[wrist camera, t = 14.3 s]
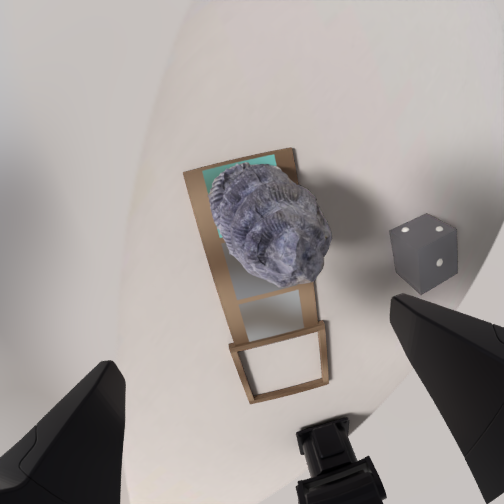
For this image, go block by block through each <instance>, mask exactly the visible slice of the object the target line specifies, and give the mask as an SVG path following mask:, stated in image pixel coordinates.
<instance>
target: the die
mask: <svg viewBox="0 0 504 504" xmlns="http://www.w3.org/2000/svg"><path fill="white" fill-rule="evenodd" d="M389 233H390V238H391V244H392V250H393V256H394V263H395V270H396V273H397V274H399V275H400V276H401V277H402V278H403V279H404V280H405V281H406V282H407V283H408V284H410V285H411V286H412V287H413V288H414V289H415V290H416V291H417V292H418V293H419V294H420V295H422V294H423V293H425V292H427V291H429V290H430V289H432V288H434V287H436V286H437V285H439V284H441V283H442V282H444V281H446V280H447V279H449V278H451V277H452V276H454V275H455V274H457V273H458V251H457V229H456V228H454V227H452V226H450V225H448V224H446V223H445V222H443V221H441V220H439V219H437V218H435V217H433V216H431V215H429V214H427V213H426V214H424V215H422V216H420V217H417V218H415V219H413V220H411V221H409V222H407V223H405V224H403V225H400V226H398V227H396V228H394V229H392V230H390V231H389Z"/></svg>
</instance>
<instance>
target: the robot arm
mask: <svg viewBox="0 0 504 504" xmlns="http://www.w3.org/2000/svg"><path fill="white" fill-rule="evenodd" d="M390 323H391V325H392V327H393V329H394V331H395V333H396V335H397V337H398V339H399V341H400V343H401V345H402V347H403V349H404V351H405V354H406V356H407V358H408V359H409V361H410V363H411V365H412V366H413V368H414V369H415V371H416V373H417V374H418V376H419V378H420V379H421V381H422V383H423V384H424V386H425V387H426V389H427V391H428V392H429V394H430V396H431V397H432V399H433V401H434V403H435V404H436V406H437V408H438V410H439V411H440V413H441V415H442V417H443V418H444V420H445V422H446V424H447V426H448V427H449V429H450V431H451V433H452V435H453V436H454V438H455V440H456V442H457V444H458V446H459V448H460V450H461V452H462V454H463V456H464V457H465V460H466V462H467V464H468V466H469V468H470V470H471V472H472V474H473V476H474V478H475V480H476V483H477V484H478V487H479V489H480V491H481V493H482V495H483V498H484V500H485V502H486V504H488V503H490V502H491V501H493V500H494V499H496V498H497V497H498V496H500V495H501V494H502V493H504V327H501V326H498V325H495V324H493V325H492V324H491V323H489V322H486V321H483V320H480V319H478V318H475V317H472V316H469V315H466V314H463V313H460V312H457V311H454V310H451V309H448V308H446V307H443V306H440V305H437V304H434V303H431V302H428V301H425V300H422V299H419V298H416V297H413V296H410V295H407V294H404V293H402V294H399V295H396V296H393V297H392V299H391V306H390ZM125 391H126V383H125V379H124V377H123V375H122V374H121V372H120V370H119V369H118V367H117V366H116V364H115V363H114V362H113V361H111V360H108V361H102V362H100V363H99V364H98V365H97V366H96V367H95V368H94V369H93V370H92V371H91V372H89V373H88V375H86V376H85V377H84V378H83V379H82V380H81V381H80V382H79V383H78V384H77V385H76V386H75V387H74V388H73V389H72V390H71V391H70V392H69V393H68V394H67V395H66V396H65V397H64V398H63V399H62V400H61V401H59V403H57V404H56V405H55V407H53V408H52V409H51V410H50V412H48V414H46V415H45V416H44V417H43V418H42V419H41V420H40V421H39V422H38V423H37V425H35V426H34V427H33V428H32V429H31V430H30V431H29V432H28V433H27V434H26V435H25V436H24V437H23V438H22V439H21V440H20V441H19V442H17V443H16V444H15V445H14V446H13V447H12V448H11V449H9V450H8V451H7V452H6V453H5V454H4V455H3V456H1V457H0V504H120V491H121V490H120V489H121V468H122V453H123V441H124V430H125ZM348 430H349V419H348V418H347V417H345V418H342V419H339V420H336V421H333V422H330V423H326V424H323V425H320V426H316V427H313V428H309V429H306V430H302V431H299V432H297V433H296V436H297V441H298V445H299V450H300V454H301V455H305V458H306V462H307V465H308V469H309V472H310V476H311V478H309V479H306V480H301V481H298V485H297V486H296V490H297V495H298V504H383V502H382V500H384V499H386V498H387V497H386V492H385V489H384V487H383V484H382V482H381V479H380V477H379V475H378V473H377V471H376V469H375V467H374V465H373V463H372V461H371V459H370V457H369V456H367V457H365V458H364V459H361V460H359V461H357V458H356V456H355V453H354V451H353V448H352V446H351V443H350V441H349V438H348Z"/></svg>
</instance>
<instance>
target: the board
mask: <svg viewBox="0 0 504 504" xmlns="http://www.w3.org/2000/svg"><path fill="white" fill-rule="evenodd" d="M245 162H248V163H249V164H250V165H255V164H270V165H272V166H277V167H279V168H280V169H281V171H282V172H284V173H285V174H287V175H288V178H289V179H290V180H292V181H293V182H294V183H296V185H299V184H298V178H297V173H296V167H295V162H294V156H293V151H292V148H285V149H280V150H275V151H270V152H265V153H260V154H256V155H251V156H246V157H242V158H238V159H233V160H229V161H225V162H221V163H217V164H213V165H209V166H205V167H201V168H197V169H193V170H190V171H186V172H183V175H184V179H185V183H186V186H187V190H188V194H189V197H190V201H191V205H192V208H193V212H194V215H195V219H196V222H197V226H198V229H199V233H200V236H201V240H202V243H203V246H204V250H205V253H206V256H207V260H208V263H209V266H210V270H211V273H212V276H213V279H214V283H215V286H216V289H217V292H218V295H219V298H220V301H221V305H222V308H223V311H224V314H225V317H226V320H227V323H228V326H229V329H230V332H231V335H232V338H233V341H234V344H235V345H237V344H242V343H246V342H251V341H255V340H259V339H263V338H267V337H271V336H275V335H279V334H283V333H287V332H291V331H295V330H298V329H302V328H305V327H309V326H312V325H316V324H318V320H317V311H316V302H315V293H314V285H313V282H311V283H304V284H294V285H292V286H290V287H285V288H281V287H278V286H276V285H275V284H273V283H270V282H268V281H267V280H265V279H261V278H259V277H256V276H253V275H251V274H250V273H248V272H247V271H246V269H245V268H244V267H243V265H242V264H241V263H240V262H239V261H238V260H237V259H236V258H235V257H234V256H233V255H231V254H229V249H228V247H227V244H226V242H225V240H224V239H223V237H222V235H221V234H220V230H219V229H217V225H215V223H214V219H213V217H212V212H211V209H210V203H209V197H208V194H209V193H210V189H211V188H212V183H213V181H214V179H215V178H216V177H218V176H219V175H220V173H222V172H224V171H225V169H226V168H227V169H229V168H231V167H233V166H235V165H236V164H242V163H245ZM316 332H317V331H316ZM313 333H314V332H313ZM309 334H310V333H309ZM306 335H307V334H306ZM302 336H303V335H302ZM298 337H300V336H298ZM295 338H296V337H295ZM291 339H292V338H291ZM287 340H289V339H287ZM283 341H285V340H283ZM280 342H281V341H280ZM276 343H277V342H276ZM272 344H273V343H272ZM268 345H269V344H268ZM263 346H265V345H263ZM259 347H261V346H259ZM255 348H257V347H255ZM251 349H252V348H251ZM246 350H248V349H246ZM242 351H243V350H242ZM237 352H239V351H237Z"/></svg>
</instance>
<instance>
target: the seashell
mask: <svg viewBox="0 0 504 504" xmlns="http://www.w3.org/2000/svg"><path fill="white" fill-rule="evenodd" d="M208 197H209V203H210V209H211V212H212V217H213V219H214V223H215V225H217V229H219V230H220V234H221V235H222V237H223V239H224V240H225V242H226V244H227V247H228V249H229V254H231V255H233V256H234V257H235V258H236V259H237V260H238V261H239V262H240V263H241V264H242V265H243V267H244V268H245V269H246V271H247V272H248V273H250V274H251V275H253V276H256V277H259V278H261V279H265V280H267V281H268V282H270V283H273V284H275V285H276V286H278V287H281V288H285V287H290V286H292V285H294V284H304V283H311V282H313V281H315V280H316V277H317V276H318V274H319V273H320V272H321V271H322V269H323V266H324V258H323V257H324V256H325V255H326V253H327V251H328V249H329V246H330V243H331V240H332V234H331V230H330V227H329V225H328V221H327V220H326V219H325V217H324V215H323V213H322V211H321V209H320V207H319V206H318V205H317V203H316V197H315V196H314V195H313V194H312V193H311V192H310V191H309V190H308V189H306V188H305V187H303V186H301V185H296V183H294V182H293V181H292V180H290V179H289V178H288V175H287V174H285V173H284V172H282V171H281V169H280V168H279V167H277V166H272V165H270V164H255V165H250V164H249V163H248V162H245V163H242V164H236V165H235V166H233V167H231V168H229V169H227V168H226V169H225V171H224V172H222V173H220V175H219V176H218V177H216V178H215V179H214V181H213V183H212V188H211V189H210V193H209V194H208Z"/></svg>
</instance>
